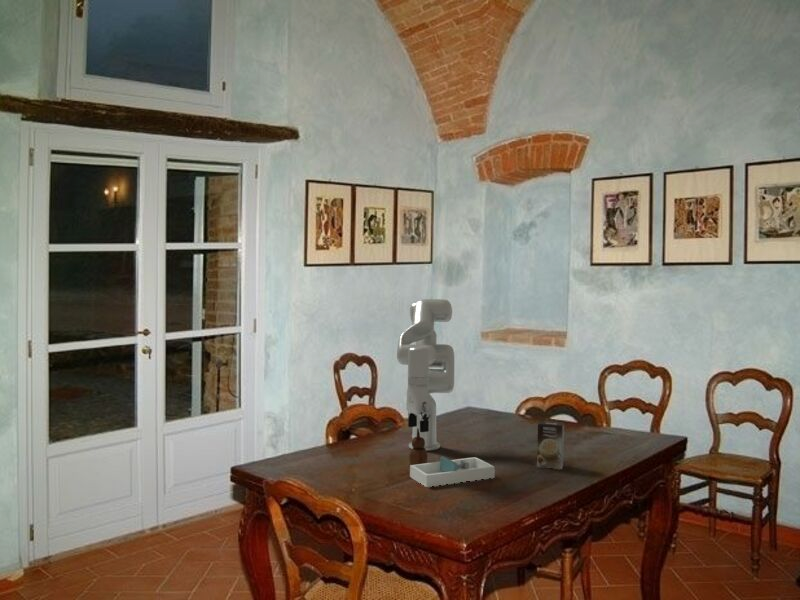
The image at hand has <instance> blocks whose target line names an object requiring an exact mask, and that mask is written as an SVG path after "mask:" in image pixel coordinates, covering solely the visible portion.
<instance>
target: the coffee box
mask: <svg viewBox="0 0 800 600" xmlns="http://www.w3.org/2000/svg"><path fill="white" fill-rule="evenodd" d="M564 437H565V422H563V421H553V420H552V421H550V420H542V419H541V420H539V421H538V423H537V443H536V445H537V447H536V448H537V449H536V450H537V451H536V453H537V454H536V458H537V459H536V468H541V467H542V469H550V468H553V469H552V470H560V469H561V470H562V469H563V466H564V444H565V443H564V440H565V438H564Z"/></svg>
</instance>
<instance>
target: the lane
mask: <svg viewBox="0 0 800 600" xmlns="http://www.w3.org/2000/svg"><path fill="white" fill-rule="evenodd" d="M450 460H451V461H453V462H455V463H457V464H461V460H464V461H466V462H468V463H469V469H465V470H462V469H457V471H450V472H443V471H441V470H440V461H436V462H427V463H425V464H417V465H410V466H409V477H410V478H411V479H413V480H414V481H416V482H417V483H418V484H420V483H421V484H420V485H422V486H423V485H424V486H423V487H425V488H426V487H427V488H431V487H432V486H434V487H440V486H439V485H441V486H446V484H448V485H453V484H454V483H455V484H461V483H460V482H463V483H467V482H466V481H470V482H476V481H475V480H477V481H482V480H481V479H484V480H489V478H491V479H495V477H496V476H495V473H496V471H495V465H492V464H490V463H488V462H487V461H485V460H482V459H480V458H478V457H475V456H474V457H466V458H465V457H464V458H457V459H450Z"/></svg>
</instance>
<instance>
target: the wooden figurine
mask: <svg viewBox="0 0 800 600" xmlns="http://www.w3.org/2000/svg"><path fill="white" fill-rule="evenodd" d="M411 442H412V446H413V449H411V450H410V451H409V455H408V460H409V464H410V465H417V464H425V463H428V451H426V449H425V448H424V446H425V440H424V438H422V437H420V433H419V429H418V428H417V437H415V438H412V441H411Z"/></svg>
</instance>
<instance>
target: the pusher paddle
mask: <svg viewBox="0 0 800 600" xmlns="http://www.w3.org/2000/svg"><path fill="white" fill-rule="evenodd" d="M439 458H440V460H439V462H440V470H441V471H443V472H450V471H457V469H462V470H465V469H469V463H468V462H466V461H464V460H461V464H457V463H455V462H453V461H451V460H452V459H449V458H448V457H447V456H445V455H444V456H440V457H439Z"/></svg>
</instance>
